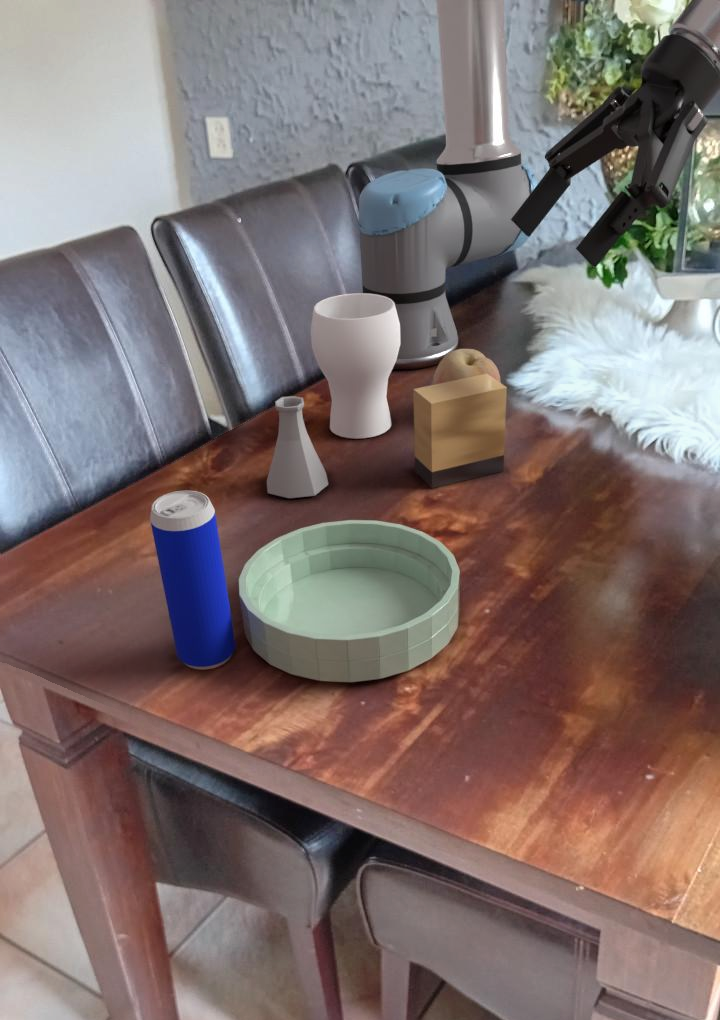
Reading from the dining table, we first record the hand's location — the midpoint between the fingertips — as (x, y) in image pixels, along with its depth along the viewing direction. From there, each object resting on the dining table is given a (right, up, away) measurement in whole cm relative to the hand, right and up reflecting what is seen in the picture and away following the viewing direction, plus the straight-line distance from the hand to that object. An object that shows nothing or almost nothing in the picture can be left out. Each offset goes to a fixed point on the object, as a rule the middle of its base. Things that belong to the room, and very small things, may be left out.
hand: (550, 242), depth 103 cm
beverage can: (-33, -42, -14) cm, 56 cm away
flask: (-27, -23, +11) cm, 37 cm away
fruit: (-6, -12, +24) cm, 28 cm away
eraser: (-8, -22, +11) cm, 26 cm away
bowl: (-20, -39, -11) cm, 45 cm away
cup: (-19, -14, +23) cm, 33 cm away
